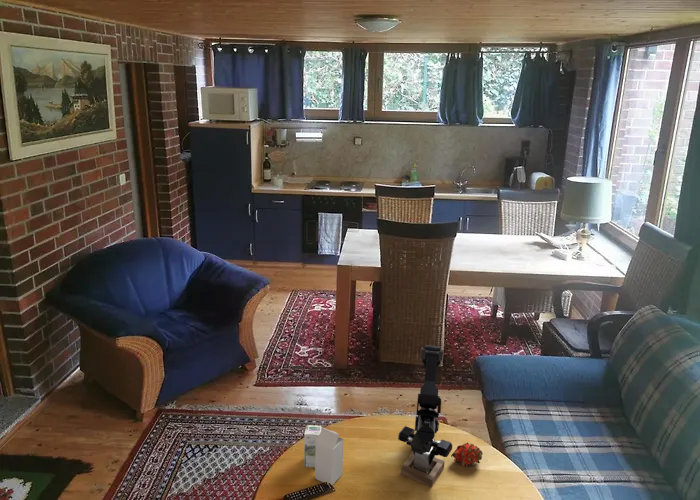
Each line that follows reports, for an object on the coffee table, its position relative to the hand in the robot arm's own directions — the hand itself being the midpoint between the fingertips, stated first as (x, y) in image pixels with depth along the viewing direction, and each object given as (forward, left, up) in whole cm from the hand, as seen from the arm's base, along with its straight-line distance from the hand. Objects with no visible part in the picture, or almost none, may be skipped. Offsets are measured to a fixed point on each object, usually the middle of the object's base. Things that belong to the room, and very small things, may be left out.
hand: (423, 461), depth 199 cm
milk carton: (+21, -27, -4) cm, 34 cm away
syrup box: (+18, -36, -4) cm, 40 cm away
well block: (0, 0, -4) cm, 4 cm away
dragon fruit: (-13, +12, -5) cm, 18 cm away
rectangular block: (0, 0, -3) cm, 3 cm away
